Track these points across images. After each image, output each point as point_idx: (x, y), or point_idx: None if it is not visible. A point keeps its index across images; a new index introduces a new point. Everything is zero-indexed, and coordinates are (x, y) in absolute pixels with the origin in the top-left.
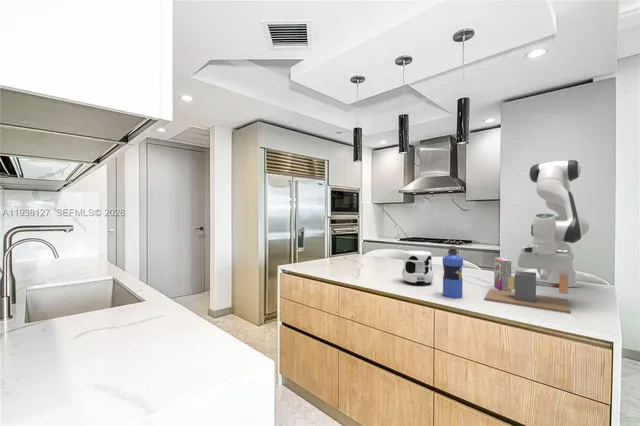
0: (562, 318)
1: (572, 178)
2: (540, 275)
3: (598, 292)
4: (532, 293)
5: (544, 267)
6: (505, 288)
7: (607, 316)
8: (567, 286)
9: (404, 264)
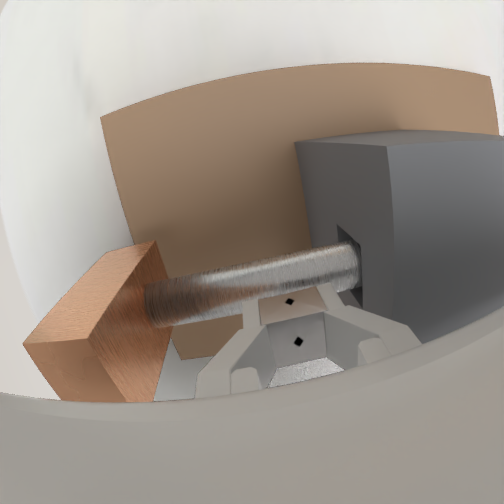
0: (128, 4)
1: None
2: (339, 306)
3: None
4: (331, 138)
5: (321, 413)
6: None
7: (14, 219)
8: (80, 282)
9: None
